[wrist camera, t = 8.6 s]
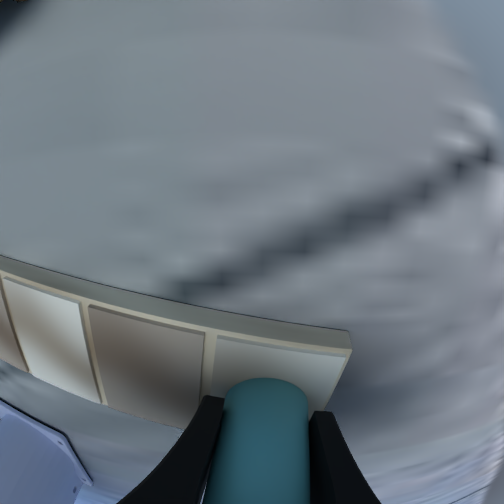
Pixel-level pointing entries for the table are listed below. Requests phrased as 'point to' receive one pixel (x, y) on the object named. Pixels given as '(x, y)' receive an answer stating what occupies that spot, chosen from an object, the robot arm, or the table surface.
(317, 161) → the table surface
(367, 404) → the table surface
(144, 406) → the board
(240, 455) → the pawn
